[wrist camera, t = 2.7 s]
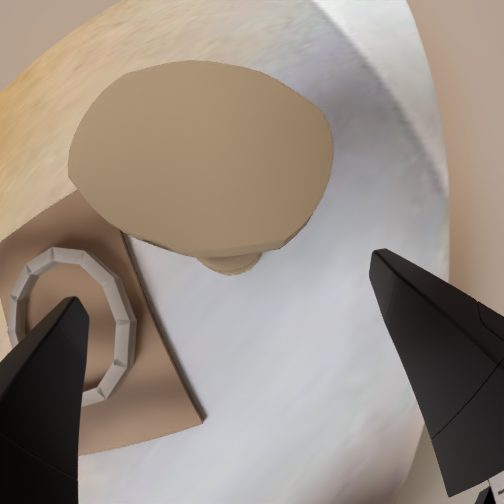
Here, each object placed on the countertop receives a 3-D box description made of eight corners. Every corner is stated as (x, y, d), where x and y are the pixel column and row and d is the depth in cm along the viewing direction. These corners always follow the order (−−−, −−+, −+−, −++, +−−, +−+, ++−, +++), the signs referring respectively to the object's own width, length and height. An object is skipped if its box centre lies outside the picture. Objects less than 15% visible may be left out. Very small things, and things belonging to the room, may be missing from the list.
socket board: (203, 421, 19) (199, 430, 17) (66, 456, 18) (55, 463, 17) (105, 177, 22) (95, 168, 21) (-5, 250, 22) (-18, 246, 20)
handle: (202, 207, 22) (123, 54, 7) (289, 233, 21) (348, 94, 7) (179, 271, 21) (42, 201, 6) (268, 300, 21) (299, 286, 6)
